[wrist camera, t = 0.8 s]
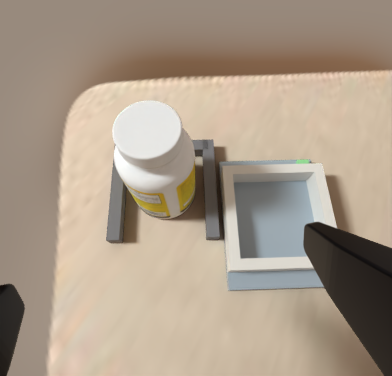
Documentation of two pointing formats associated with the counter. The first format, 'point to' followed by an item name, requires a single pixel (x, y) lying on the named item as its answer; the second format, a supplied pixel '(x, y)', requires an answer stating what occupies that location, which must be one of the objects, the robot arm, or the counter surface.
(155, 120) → the supplement bottle
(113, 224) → the holster cradle
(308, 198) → the panel
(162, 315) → the counter surface
